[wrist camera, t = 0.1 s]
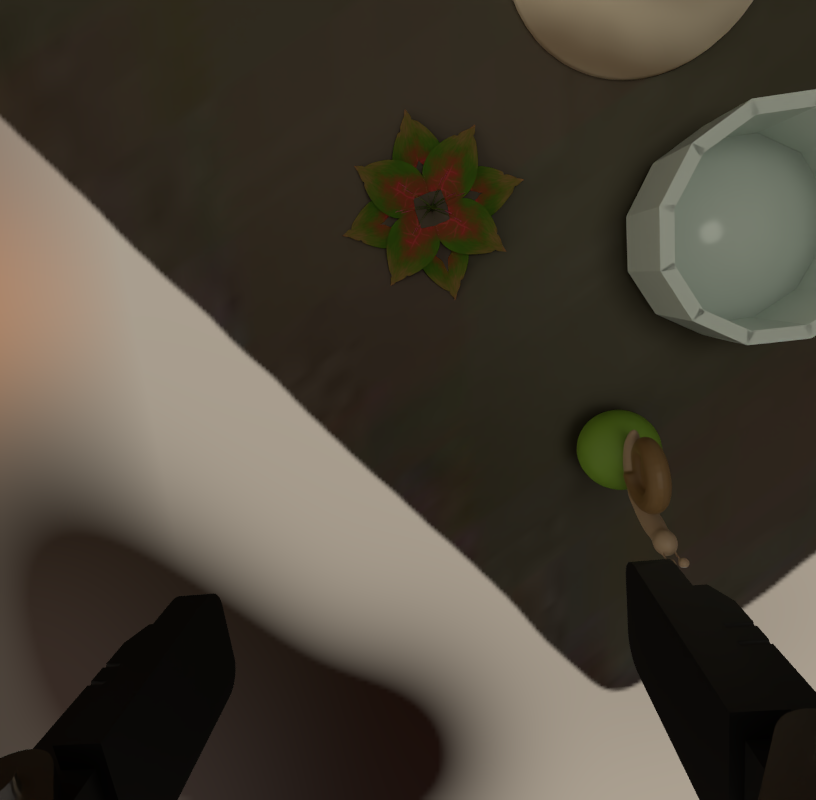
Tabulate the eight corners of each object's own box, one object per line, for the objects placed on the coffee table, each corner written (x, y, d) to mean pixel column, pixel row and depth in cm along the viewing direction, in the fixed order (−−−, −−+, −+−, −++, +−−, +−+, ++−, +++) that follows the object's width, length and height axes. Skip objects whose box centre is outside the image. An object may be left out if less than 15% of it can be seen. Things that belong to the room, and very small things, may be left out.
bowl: (618, 141, 35) (657, 112, 28) (831, 111, 33) (922, 73, 27) (624, 340, 38) (661, 354, 31) (821, 319, 36) (900, 328, 30)
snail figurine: (574, 489, 40) (627, 577, 29) (565, 407, 39) (617, 465, 27) (648, 479, 40) (733, 564, 28) (641, 396, 38) (728, 450, 27)
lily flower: (553, 171, 36) (569, 157, 31) (463, 328, 39) (466, 335, 34) (396, 78, 35) (390, 50, 31) (316, 245, 38) (299, 241, 33)
